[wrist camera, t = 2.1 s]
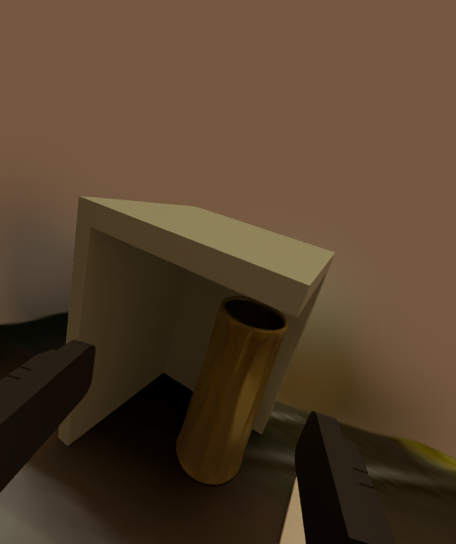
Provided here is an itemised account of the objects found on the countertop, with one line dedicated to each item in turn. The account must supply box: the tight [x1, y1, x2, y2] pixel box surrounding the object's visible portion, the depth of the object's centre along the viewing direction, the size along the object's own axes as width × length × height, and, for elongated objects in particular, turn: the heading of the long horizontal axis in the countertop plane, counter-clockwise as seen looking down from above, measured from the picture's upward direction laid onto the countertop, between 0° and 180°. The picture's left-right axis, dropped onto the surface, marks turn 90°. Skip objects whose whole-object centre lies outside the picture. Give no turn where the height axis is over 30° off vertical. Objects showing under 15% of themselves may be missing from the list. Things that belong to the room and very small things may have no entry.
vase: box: [176, 296, 288, 485], centre depth 22 cm, size 6×6×14 cm
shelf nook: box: [58, 196, 335, 446], centre depth 22 cm, size 14×13×20 cm
